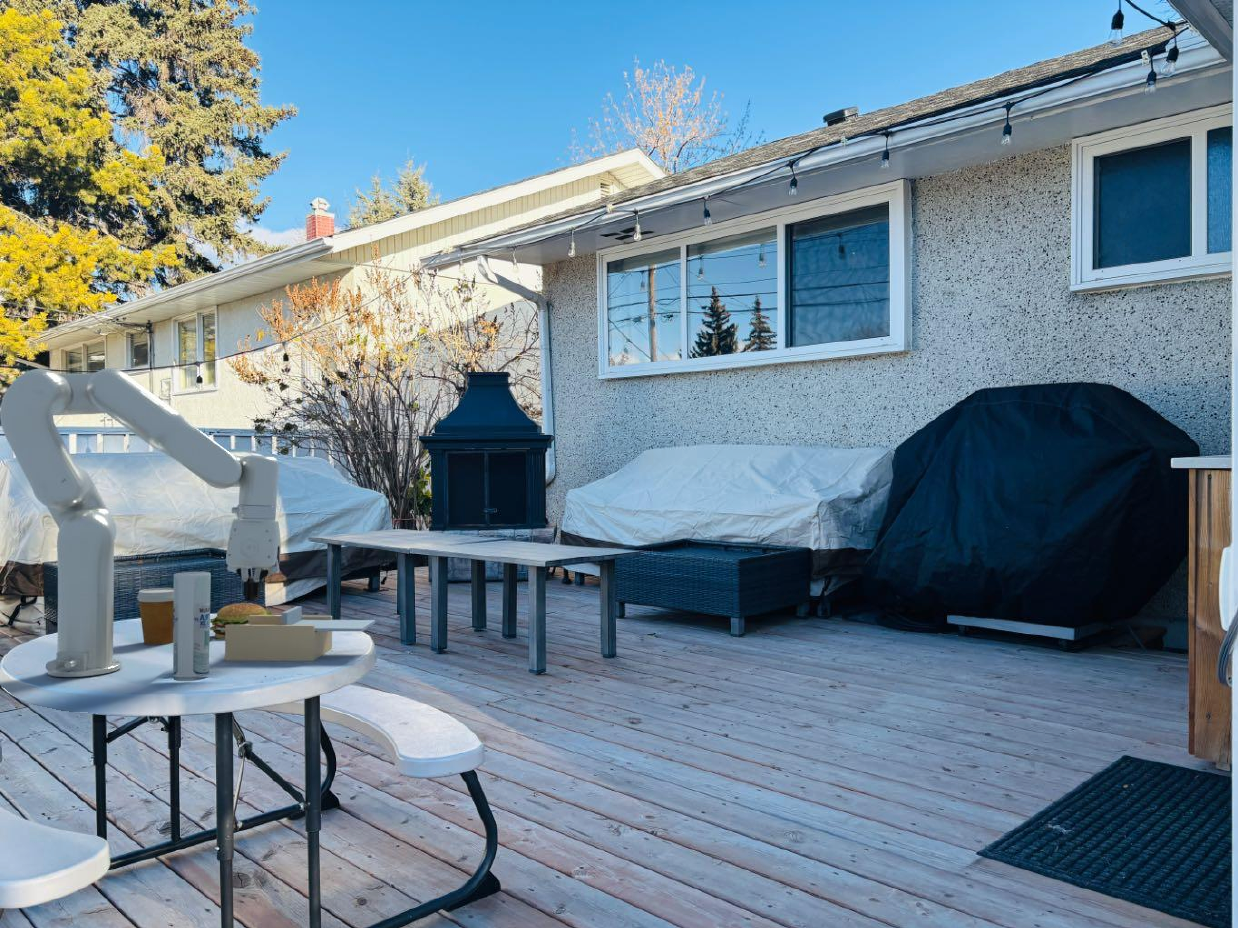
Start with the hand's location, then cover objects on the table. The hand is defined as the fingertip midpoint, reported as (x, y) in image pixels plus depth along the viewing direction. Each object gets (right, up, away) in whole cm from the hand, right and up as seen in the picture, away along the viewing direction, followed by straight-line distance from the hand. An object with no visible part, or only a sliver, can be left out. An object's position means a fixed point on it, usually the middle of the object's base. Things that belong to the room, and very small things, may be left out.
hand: (251, 600), depth 194 cm
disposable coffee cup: (-28, -12, +16) cm, 35 cm away
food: (-12, -13, +25) cm, 30 cm away
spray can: (-4, -12, -18) cm, 22 cm away
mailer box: (+6, -12, 0) cm, 14 cm away
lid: (+16, -6, +1) cm, 17 cm away
